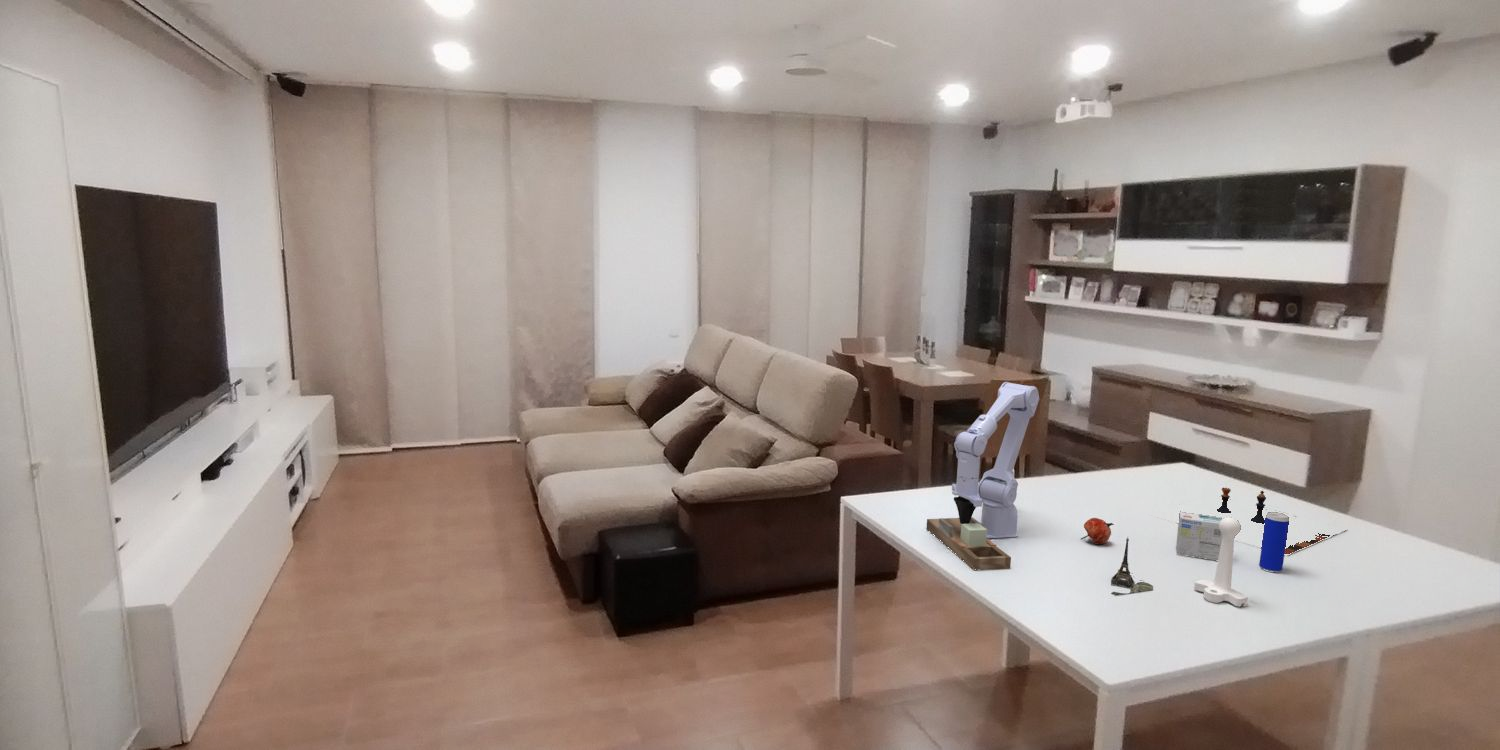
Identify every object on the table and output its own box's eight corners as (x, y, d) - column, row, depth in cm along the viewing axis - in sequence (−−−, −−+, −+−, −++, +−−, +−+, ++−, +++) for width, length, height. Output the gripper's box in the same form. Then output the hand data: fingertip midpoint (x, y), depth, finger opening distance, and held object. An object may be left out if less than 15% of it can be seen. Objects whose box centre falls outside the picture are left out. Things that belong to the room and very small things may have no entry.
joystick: (1249, 604, 191) (1260, 523, 188) (1231, 611, 187) (1241, 528, 184) (1203, 586, 201) (1213, 509, 197) (1185, 592, 197) (1194, 513, 194)
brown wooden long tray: (958, 527, 239) (959, 507, 238) (1010, 568, 209) (1012, 546, 208) (926, 528, 237) (927, 509, 236) (974, 570, 207) (975, 548, 206)
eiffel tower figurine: (1114, 598, 194) (1120, 545, 192) (1084, 581, 203) (1089, 530, 201) (1163, 591, 199) (1169, 539, 197) (1131, 575, 208) (1137, 525, 206)
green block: (977, 539, 221) (978, 523, 220) (985, 545, 216) (987, 529, 215) (960, 539, 220) (961, 524, 219) (968, 546, 215) (969, 530, 214)
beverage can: (1278, 567, 214) (1286, 512, 212) (1284, 574, 210) (1292, 519, 207) (1256, 564, 216) (1263, 510, 214) (1261, 571, 211) (1269, 516, 209)
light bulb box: (1218, 554, 223) (1223, 516, 221) (1220, 562, 217) (1225, 523, 215) (1174, 547, 227) (1178, 510, 226) (1175, 555, 221) (1180, 517, 220)
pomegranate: (1082, 552, 228) (1114, 538, 222) (1069, 528, 230) (1100, 513, 225) (1091, 548, 233) (1123, 534, 228) (1078, 524, 236) (1109, 510, 230)
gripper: (942, 469, 228) (940, 515, 230) (966, 484, 214) (962, 533, 216) (966, 468, 229) (963, 514, 231) (990, 483, 215) (987, 532, 217)
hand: (964, 523), depth 224 cm, fingers closed
